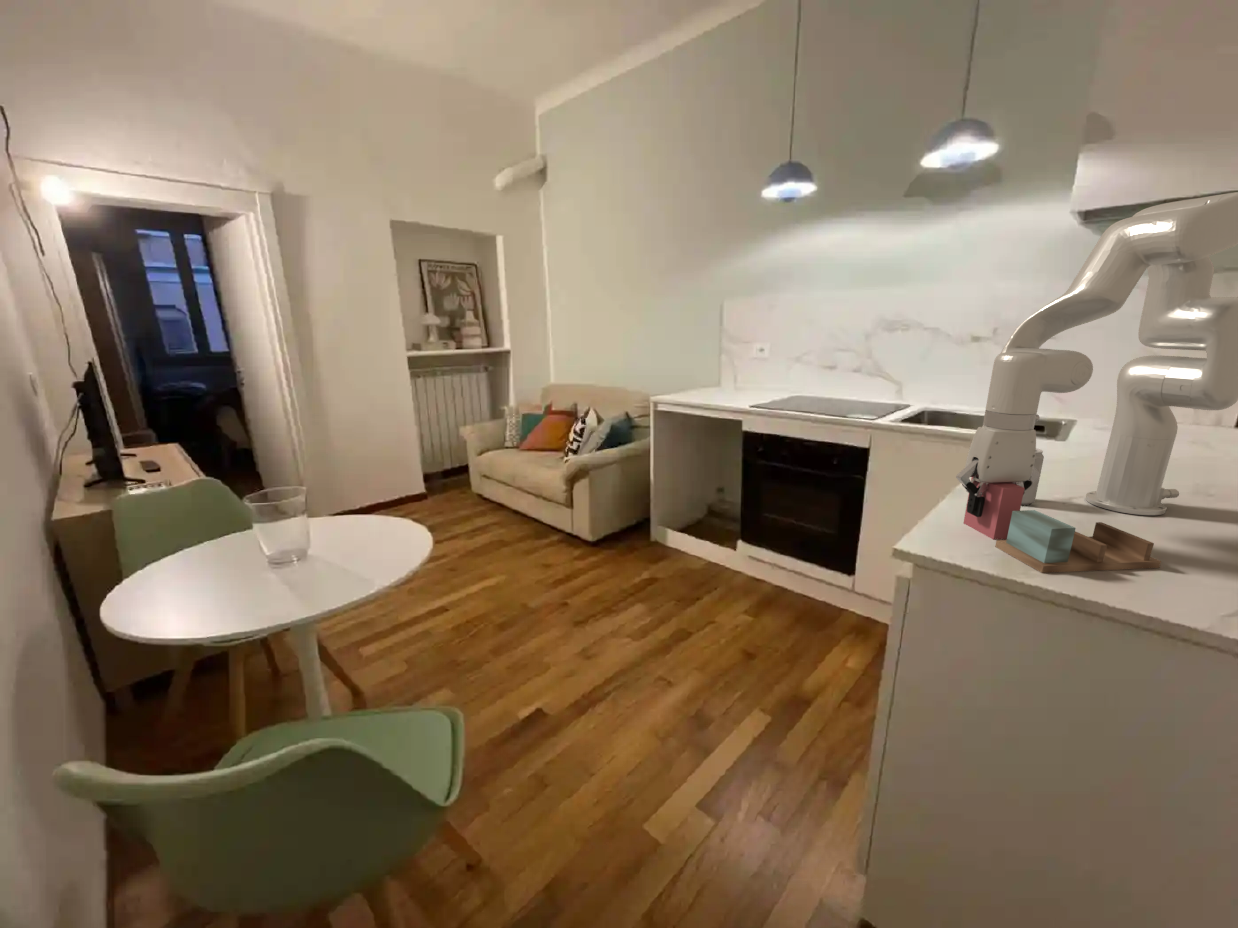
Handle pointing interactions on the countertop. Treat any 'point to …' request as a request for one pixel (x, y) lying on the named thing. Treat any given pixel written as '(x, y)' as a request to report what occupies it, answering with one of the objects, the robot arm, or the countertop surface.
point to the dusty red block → (996, 509)
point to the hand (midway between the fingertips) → (991, 513)
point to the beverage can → (1032, 490)
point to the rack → (1073, 546)
